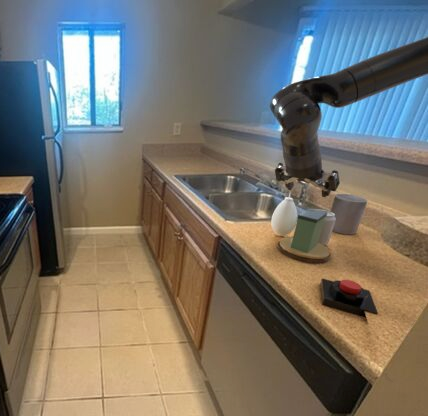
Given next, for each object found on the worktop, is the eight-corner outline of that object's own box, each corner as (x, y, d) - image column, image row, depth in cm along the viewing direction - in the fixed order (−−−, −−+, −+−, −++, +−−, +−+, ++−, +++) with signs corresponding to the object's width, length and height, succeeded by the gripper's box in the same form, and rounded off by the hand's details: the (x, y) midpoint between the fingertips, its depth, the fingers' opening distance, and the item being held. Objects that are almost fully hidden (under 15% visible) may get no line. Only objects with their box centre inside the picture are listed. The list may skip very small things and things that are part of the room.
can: (313, 236, 105) (321, 207, 101) (333, 245, 99) (343, 214, 94) (297, 239, 104) (305, 209, 99) (317, 248, 97) (326, 217, 93)
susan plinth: (327, 248, 97) (328, 244, 96) (331, 269, 85) (333, 264, 84) (278, 238, 104) (279, 234, 104) (275, 255, 93) (276, 251, 92)
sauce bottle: (284, 230, 110) (294, 188, 104) (296, 239, 103) (308, 194, 97) (264, 230, 111) (273, 188, 104) (275, 239, 103) (286, 194, 97)
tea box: (335, 249, 93) (346, 214, 88) (320, 263, 85) (332, 226, 80) (289, 235, 103) (297, 203, 99) (272, 246, 96) (280, 212, 91)
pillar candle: (321, 223, 116) (330, 190, 110) (348, 225, 113) (359, 191, 108) (332, 233, 107) (344, 197, 102) (362, 236, 105) (375, 199, 99)
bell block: (366, 297, 73) (371, 284, 71) (374, 320, 65) (380, 307, 64) (319, 284, 78) (323, 272, 77) (322, 305, 70) (326, 292, 69)
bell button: (357, 288, 71) (360, 282, 70) (360, 296, 68) (362, 291, 67) (338, 283, 73) (340, 277, 72) (339, 291, 70) (341, 285, 69)
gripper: (343, 147, 64) (343, 185, 75) (278, 142, 75) (286, 176, 85) (330, 173, 63) (332, 208, 74) (265, 163, 74) (275, 195, 84)
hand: (307, 191), depth 79 cm, fingers open, 8 cm apart
